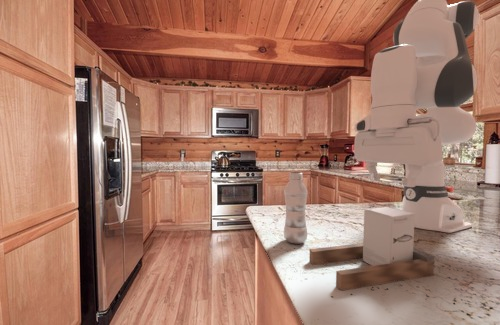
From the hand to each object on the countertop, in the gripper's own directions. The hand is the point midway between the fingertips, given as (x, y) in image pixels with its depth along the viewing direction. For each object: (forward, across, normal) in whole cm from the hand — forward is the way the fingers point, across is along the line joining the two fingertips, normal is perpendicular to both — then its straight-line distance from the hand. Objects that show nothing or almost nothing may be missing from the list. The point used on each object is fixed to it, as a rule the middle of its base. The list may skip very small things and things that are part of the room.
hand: (390, 183), depth 54 cm
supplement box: (+19, 0, 0) cm, 19 cm away
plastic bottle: (+19, +18, +15) cm, 30 cm away
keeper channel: (+19, 0, +6) cm, 20 cm away
